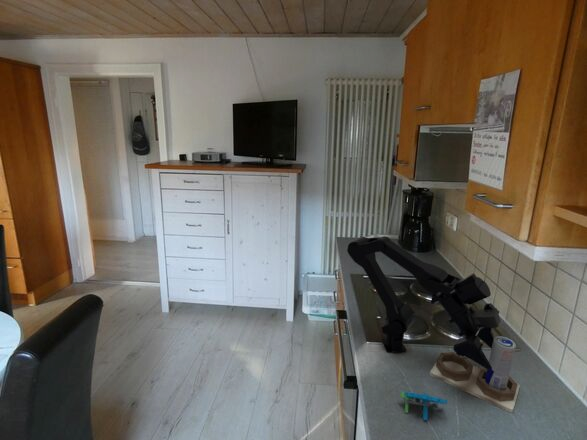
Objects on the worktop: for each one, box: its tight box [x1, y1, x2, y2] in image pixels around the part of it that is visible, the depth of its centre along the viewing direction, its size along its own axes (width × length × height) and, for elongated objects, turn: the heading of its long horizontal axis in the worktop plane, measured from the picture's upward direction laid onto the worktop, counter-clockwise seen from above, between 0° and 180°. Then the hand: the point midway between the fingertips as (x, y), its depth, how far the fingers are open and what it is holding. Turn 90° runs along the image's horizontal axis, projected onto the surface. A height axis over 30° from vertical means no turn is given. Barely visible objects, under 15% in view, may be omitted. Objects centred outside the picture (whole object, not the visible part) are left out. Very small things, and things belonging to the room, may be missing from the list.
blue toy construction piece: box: [400, 391, 448, 421], centre depth 88 cm, size 11×6×10 cm
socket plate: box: [429, 351, 521, 414], centre depth 98 cm, size 21×11×4 cm, turn 50°
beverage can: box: [485, 335, 517, 391], centre depth 93 cm, size 5×5×15 cm
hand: (494, 360), depth 94 cm, fingers open, 9 cm apart
